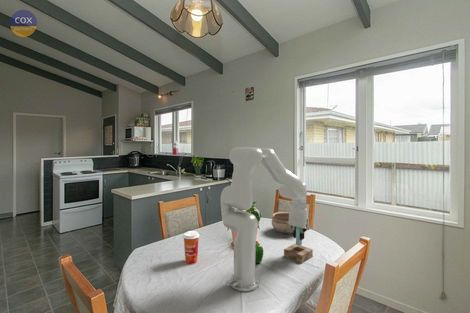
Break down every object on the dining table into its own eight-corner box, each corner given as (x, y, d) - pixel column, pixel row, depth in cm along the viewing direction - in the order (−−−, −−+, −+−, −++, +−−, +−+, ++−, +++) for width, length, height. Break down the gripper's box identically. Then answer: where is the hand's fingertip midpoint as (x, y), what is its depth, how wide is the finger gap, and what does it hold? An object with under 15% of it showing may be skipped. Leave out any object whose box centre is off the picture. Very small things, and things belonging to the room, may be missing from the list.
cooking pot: (263, 229, 175) (264, 212, 174) (284, 225, 183) (284, 209, 182) (285, 241, 152) (285, 222, 152) (308, 236, 161) (308, 218, 160)
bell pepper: (243, 262, 125) (243, 243, 124) (253, 256, 131) (253, 238, 131) (257, 267, 119) (257, 247, 119) (266, 261, 126) (266, 242, 125)
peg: (299, 245, 129) (299, 227, 129) (294, 243, 132) (294, 226, 131) (302, 243, 131) (303, 226, 131) (297, 242, 134) (297, 224, 133)
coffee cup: (180, 263, 123) (179, 235, 122) (188, 256, 131) (188, 229, 130) (194, 266, 120) (194, 237, 120) (202, 259, 128) (202, 231, 127)
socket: (301, 263, 124) (301, 255, 124) (283, 256, 132) (284, 249, 132) (312, 256, 131) (312, 249, 131) (295, 250, 139) (295, 243, 139)
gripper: (282, 204, 134) (282, 236, 135) (309, 209, 122) (308, 245, 123) (290, 201, 139) (289, 232, 140) (316, 206, 127) (316, 240, 128)
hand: (298, 238), depth 131 cm, fingers closed on peg, 3 cm apart
